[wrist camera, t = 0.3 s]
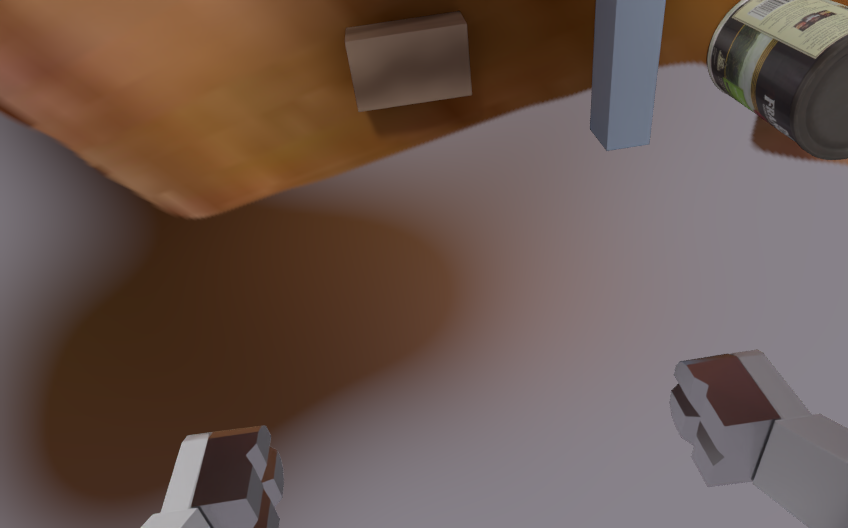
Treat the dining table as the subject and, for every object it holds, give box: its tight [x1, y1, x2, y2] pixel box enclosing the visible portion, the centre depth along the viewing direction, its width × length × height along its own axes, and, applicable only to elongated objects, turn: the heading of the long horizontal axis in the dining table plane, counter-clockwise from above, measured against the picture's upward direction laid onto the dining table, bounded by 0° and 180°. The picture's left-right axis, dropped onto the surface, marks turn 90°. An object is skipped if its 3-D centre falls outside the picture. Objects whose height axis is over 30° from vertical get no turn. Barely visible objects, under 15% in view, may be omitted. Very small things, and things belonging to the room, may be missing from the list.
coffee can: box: [707, 0, 848, 160], centre depth 49 cm, size 10×10×14 cm
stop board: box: [590, 0, 666, 151], centre depth 51 cm, size 20×4×5 cm, turn 7°
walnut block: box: [345, 11, 472, 112], centre depth 51 cm, size 6×10×4 cm, turn 97°
